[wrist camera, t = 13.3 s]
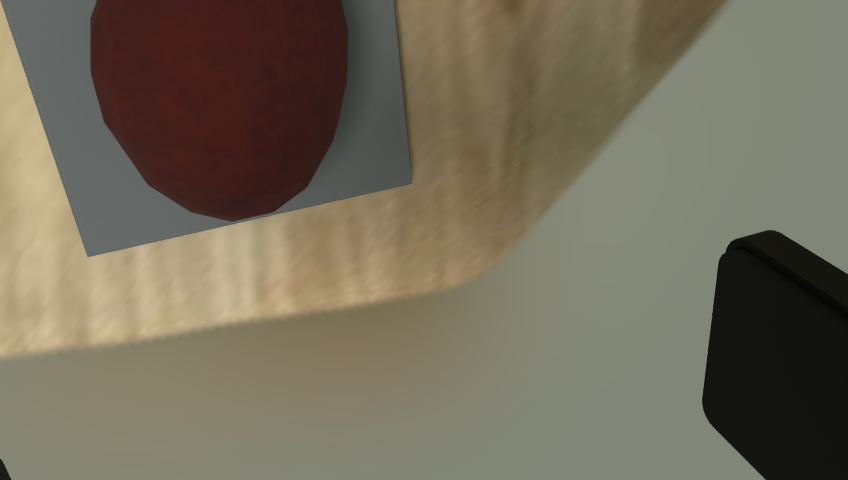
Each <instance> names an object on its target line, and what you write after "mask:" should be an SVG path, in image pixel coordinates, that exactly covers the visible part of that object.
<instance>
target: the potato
mask: <svg viewBox="0 0 848 480" xmlns="http://www.w3.org/2000/svg"><path fill="white" fill-rule="evenodd" d="M90 70H91V77H92V80H93V84H94V87H95V91H96V95H97V98H98V102H99V106H100V109H101V113H102V117H103V120H104V123H105V124H106V126H107V127H108V129H109V130H110V131H111V133H112V134H113V136H114V137H115V139H116V140H117V141H118V143H119V144H120V146H121V147H122V149H123V150H124V152H125V153H126V154H127V156H128V157H129V159H130V160H131V162H132V163H133V164H134V166H135V167H136V169H137V170H138V172H139V173H140V174H141V176H142V177H143V179H144V180H145V182H146V183H147V184H148V186H150V187H152V188H153V189H155V190H156V191H158V192H160V193H161V194H163V195H164V196H166V197H167V198H169V199H171V200H172V201H174V202H175V203H177V204H179V205H180V206H182V207H183V208H185V209H186V210H188V211H190V212H191V213H196V214H200V215H204V216H209V217H213V218H217V219H222V220H226V221H230V222H234V221H238V220H242V219H247V218H251V217H255V216H260V215H264V214H268V213H273V212H275V211H276V210H277V209H279V208H280V207H281V206H283V205H284V204H286V203H287V202H288V201H290V200H291V199H292V198H294V197H295V196H296V195H298V194H299V193H300V192H302V191H303V190H305V189H306V188H307V187H308V185H309V183H310V182H311V180H312V178H313V176H314V174H315V173H316V171H317V169H318V167H319V165H320V164H321V162H322V160H323V158H324V156H325V155H326V153H327V151H328V149H329V147H330V146H331V144H332V142H333V139H334V135H335V132H336V129H337V126H338V122H339V118H340V113H341V108H342V103H343V98H344V93H345V89H346V84H347V70H348V27H347V23H346V18H345V14H344V10H343V5H342V1H341V0H97V1H96V4H95V7H94V10H93V12H92V15H91V18H90Z"/></svg>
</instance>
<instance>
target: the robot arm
mask: <svg viewBox="0 0 848 480" xmlns="http://www.w3.org/2000/svg"><path fill="white" fill-rule="evenodd" d="M715 289H716V290H715V297H714V305H713V313H712V322H711V330H710V338H709V347H708V355H707V364H706V373H705V381H704V389H703V397H702V405H703V410H704V412H705V415H706V417H707V419H708V421H709V423H710V424H711V425H712V426H713V427H714V428H715V429H716V430H717V431H718V432H719V433H720V434H721V435H722V436H723V437H724V438H725V439H726V440H727V441H728V442H729V443H730V444H731V445H732V446H733V447H734V448H735V449H736V450H737V451H738V452H739V453H740V454H741V455H742V456H743V457H744V458H745V459H746V460H747V461H748V462H749V463H750V464H751V465H752V466H753V467H754V468H755V469H756V470H757V471H758V472H759V473H760V474H761V475H762V476H763V477H764V478H765V479H766V480H848V274H846V273H845V272H843V271H842V270H840V269H838V268H837V267H835V266H834V265H832V264H830V263H829V262H827V261H825V260H824V259H822V258H821V257H819V256H817V255H815V254H814V253H812V252H811V251H809V250H807V249H806V248H804V247H803V246H801V245H799V244H798V243H796V242H794V241H793V240H791V239H789V238H788V237H786V236H785V235H783V234H781V233H779V232H777V231H774V230H767V231H764V232H760V233H756V234H753V235H749V236H745V237H742V238H738V239H735V240H733V241H731V242H730V244H729V245H728V247H727V249H726V253H724V254H723V255H722V256H721V257H720V260H719V263H718V272H717V280H716V288H715ZM0 480H11V478H10V476H9V474H8V472H7V470H6V467H5V465H4V464H3V462H2V460H1V459H0Z"/></svg>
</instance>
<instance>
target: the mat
mask: <svg viewBox="0 0 848 480" xmlns="http://www.w3.org/2000/svg"><path fill="white" fill-rule="evenodd" d="M96 1H97V0H1V3H2V6H3V9H4V12H5V15H6V18H7V21H8V24H9V27H10V30H11V33H12V36H13V38H14V41H15V44H16V47H17V50H18V53H19V56H20V59H21V62H22V65H23V68H24V71H25V74H26V77H27V80H28V83H29V86H30V89H31V92H32V94H33V97H34V100H35V103H36V106H37V109H38V112H39V115H40V118H41V121H42V124H43V127H44V130H45V133H46V136H47V139H48V142H49V145H50V148H51V150H52V153H53V156H54V159H55V162H56V165H57V168H58V171H59V174H60V177H61V180H62V183H63V186H64V189H65V192H66V195H67V198H68V201H69V204H70V206H71V209H72V212H73V215H74V218H75V221H76V224H77V227H78V230H79V233H80V236H81V239H82V242H83V245H84V248H85V251H86V254H87V257H90V256H95V255H99V254H104V253H108V252H112V251H117V250H121V249H126V248H130V247H134V246H139V245H143V244H148V243H152V242H156V241H161V240H165V239H170V238H174V237H179V236H183V235H187V234H192V233H196V232H201V231H205V230H209V229H214V228H218V227H223V226H227V225H231V224H236V223H240V222H245V221H249V220H253V219H258V218H262V217H267V216H271V215H276V214H280V213H284V212H289V211H293V210H298V209H302V208H306V207H311V206H315V205H320V204H324V203H328V202H333V201H337V200H342V199H346V198H351V197H355V196H359V195H364V194H368V193H373V192H377V191H381V190H386V189H390V188H395V187H399V186H403V185H408V184H412V179H411V169H410V159H409V149H408V139H407V129H406V119H405V109H404V100H403V90H402V80H401V70H400V60H399V50H398V40H397V30H396V20H395V10H394V0H341V1H342V5H343V10H344V14H345V18H346V23H347V27H348V70H347V84H346V89H345V93H344V98H343V103H342V108H341V113H340V118H339V122H338V126H337V129H336V132H335V135H334V139H333V142H332V144H331V146H330V147H329V149H328V151H327V153H326V155H325V156H324V158H323V160H322V162H321V164H320V165H319V167H318V169H317V171H316V173H315V174H314V176H313V178H312V180H311V182H310V183H309V185H308V187H307V188H306V189H305V190H303V191H302V192H300V193H299V194H298V195H296V196H295V197H294V198H292V199H291V200H290V201H288V202H287V203H286V204H284V205H283V206H281V207H280V208H279V209H277V210H276V211H275V212H273V213H268V214H264V215H260V216H255V217H251V218H247V219H242V220H238V221H234V222H230V221H226V220H222V219H217V218H213V217H209V216H204V215H200V214H196V213H191V212H190V211H188V210H186V209H185V208H183V207H182V206H180V205H179V204H177V203H175V202H174V201H172V200H171V199H169V198H167V197H166V196H164V195H163V194H161V193H160V192H158V191H156V190H155V189H153V188H152V187H150V186H148V184H147V183H146V182H145V180H144V179H143V177H142V176H141V174H140V173H139V172H138V170H137V169H136V167H135V166H134V164H133V163H132V162H131V160H130V159H129V157H128V156H127V154H126V153H125V152H124V150H123V149H122V147H121V146H120V144H119V143H118V141H117V140H116V139H115V137H114V136H113V134H112V133H111V131H110V130H109V129H108V127H107V126H106V124H105V123H104V120H103V117H102V113H101V109H100V106H99V102H98V98H97V95H96V91H95V87H94V84H93V80H92V77H91V70H90V18H91V15H92V12H93V10H94V7H95V4H96Z"/></svg>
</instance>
